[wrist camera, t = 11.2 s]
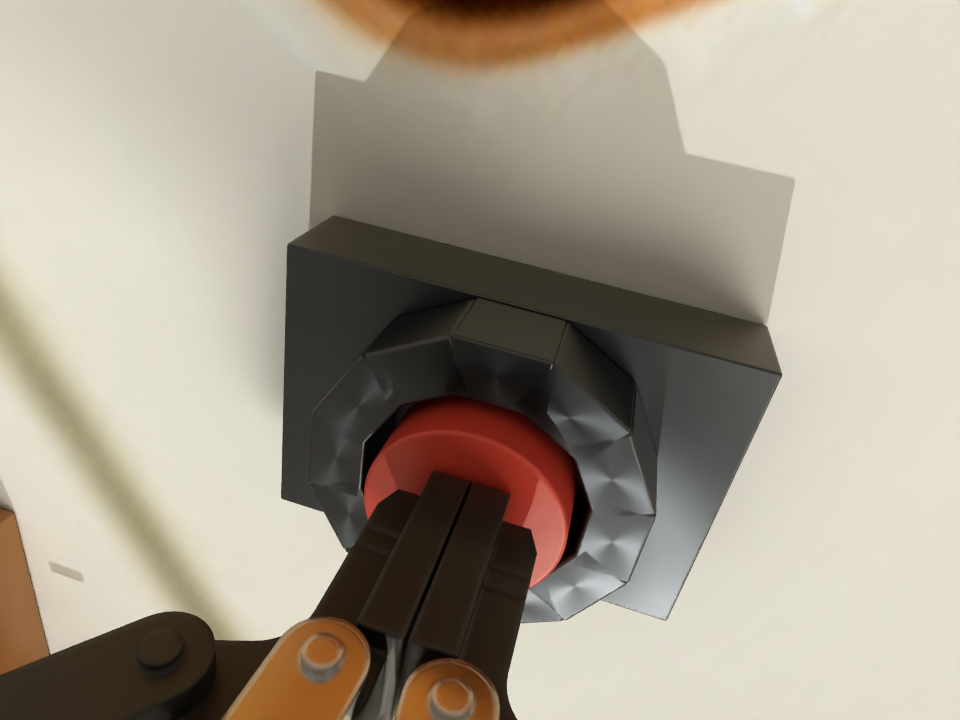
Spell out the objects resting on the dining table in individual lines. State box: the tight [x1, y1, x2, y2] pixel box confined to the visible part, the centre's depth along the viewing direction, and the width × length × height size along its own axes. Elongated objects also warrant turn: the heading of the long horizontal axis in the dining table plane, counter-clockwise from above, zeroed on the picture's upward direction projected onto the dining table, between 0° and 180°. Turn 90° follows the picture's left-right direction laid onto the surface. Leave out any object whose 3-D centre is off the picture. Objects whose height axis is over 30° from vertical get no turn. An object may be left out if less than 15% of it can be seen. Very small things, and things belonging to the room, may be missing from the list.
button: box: [364, 395, 578, 588], centre depth 13 cm, size 4×4×2 cm
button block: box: [281, 216, 782, 623], centre depth 15 cm, size 10×7×4 cm
